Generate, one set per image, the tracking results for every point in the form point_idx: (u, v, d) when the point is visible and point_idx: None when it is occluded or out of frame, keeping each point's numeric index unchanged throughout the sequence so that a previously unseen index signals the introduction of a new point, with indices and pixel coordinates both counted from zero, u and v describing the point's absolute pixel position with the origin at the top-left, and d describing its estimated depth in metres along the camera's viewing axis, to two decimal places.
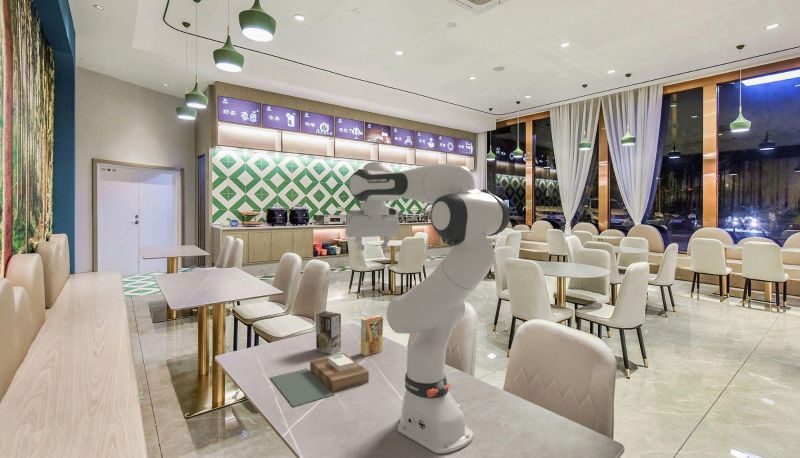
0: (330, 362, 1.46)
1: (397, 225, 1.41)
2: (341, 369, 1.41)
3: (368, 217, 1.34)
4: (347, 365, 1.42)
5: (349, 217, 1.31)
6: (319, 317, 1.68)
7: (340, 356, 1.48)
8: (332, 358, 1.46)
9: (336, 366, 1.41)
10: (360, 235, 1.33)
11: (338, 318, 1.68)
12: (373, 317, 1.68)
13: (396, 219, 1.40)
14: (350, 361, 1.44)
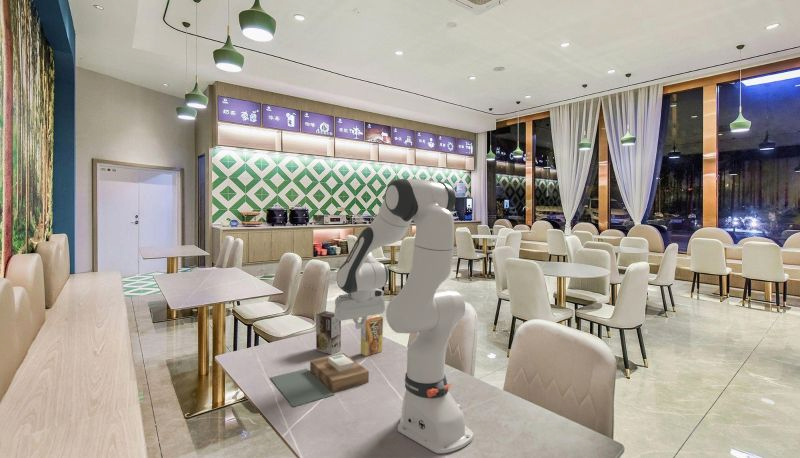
0: (330, 362, 1.46)
1: (383, 304, 1.52)
2: (341, 369, 1.41)
3: (355, 300, 1.45)
4: (347, 365, 1.42)
5: (337, 302, 1.43)
6: (319, 317, 1.68)
7: (340, 356, 1.48)
8: (332, 358, 1.46)
9: (336, 366, 1.41)
10: (348, 318, 1.44)
11: None
12: (373, 317, 1.68)
13: (382, 299, 1.51)
14: (350, 361, 1.44)
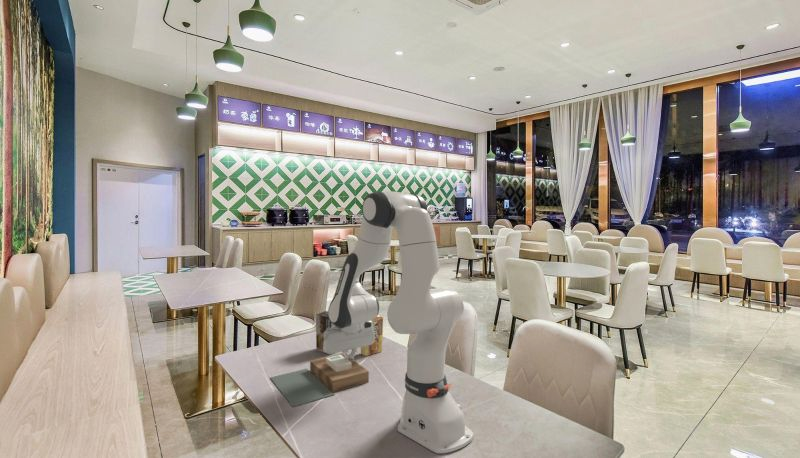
0: (328, 363, 1.45)
1: (372, 335, 1.50)
2: (338, 370, 1.40)
3: (344, 333, 1.43)
4: (344, 366, 1.41)
5: (326, 335, 1.41)
6: (319, 317, 1.68)
7: (338, 357, 1.48)
8: (330, 358, 1.46)
9: (334, 366, 1.41)
10: (336, 351, 1.42)
11: None
12: None
13: (371, 330, 1.49)
14: (348, 362, 1.43)
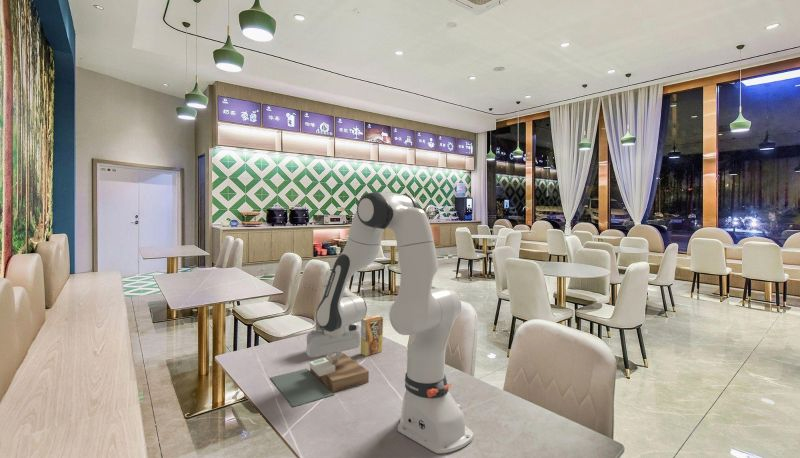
0: (311, 367, 1.42)
1: (358, 338, 1.46)
2: (322, 374, 1.36)
3: (328, 336, 1.40)
4: (327, 369, 1.38)
5: (309, 338, 1.37)
6: None
7: (322, 360, 1.44)
8: (313, 362, 1.42)
9: (317, 371, 1.37)
10: (320, 354, 1.39)
11: None
12: (373, 317, 1.68)
13: (357, 333, 1.46)
14: (331, 365, 1.40)
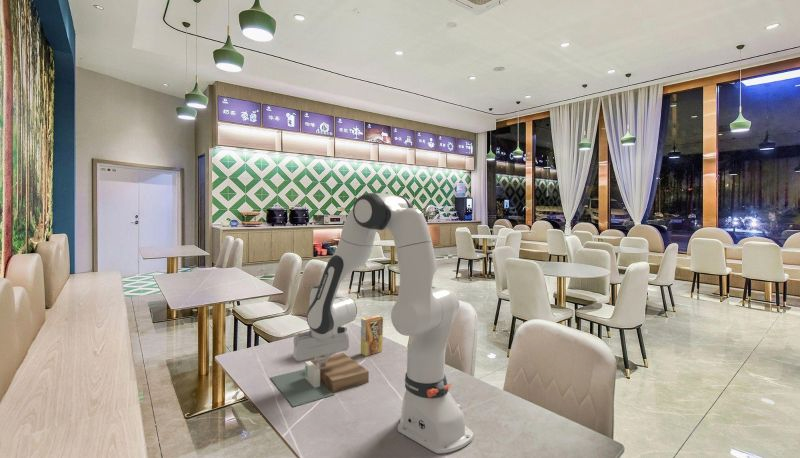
0: None
1: (347, 341, 1.44)
2: (318, 384, 1.36)
3: (316, 338, 1.37)
4: (316, 378, 1.35)
5: (296, 341, 1.34)
6: None
7: (306, 368, 1.41)
8: (306, 377, 1.41)
9: None
10: (307, 357, 1.36)
11: None
12: (373, 317, 1.68)
13: (345, 335, 1.43)
14: (313, 371, 1.36)
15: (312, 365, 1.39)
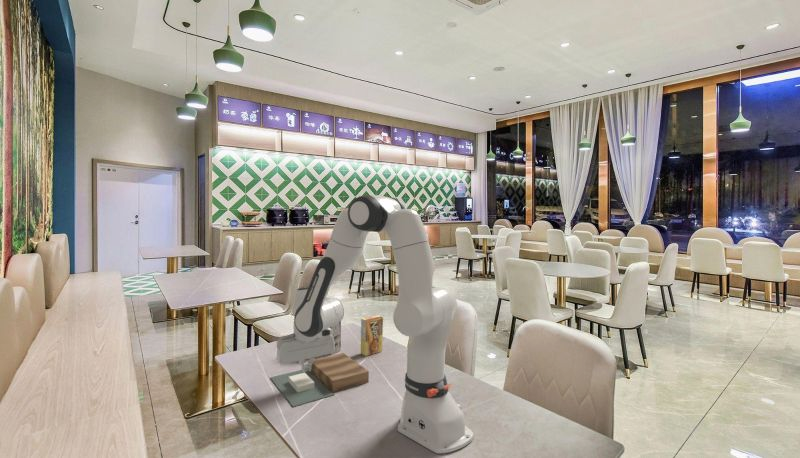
0: None
1: (332, 344, 1.41)
2: (311, 384, 1.35)
3: (300, 341, 1.34)
4: (305, 388, 1.33)
5: (279, 344, 1.31)
6: None
7: None
8: None
9: None
10: (291, 361, 1.33)
11: None
12: (373, 317, 1.68)
13: (331, 338, 1.40)
14: None
15: (292, 383, 1.36)
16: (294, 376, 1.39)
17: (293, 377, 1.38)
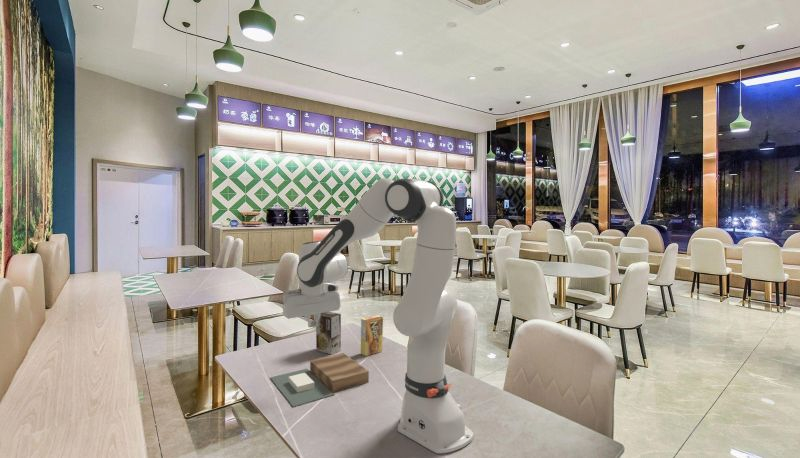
0: None
1: (338, 300, 1.40)
2: (311, 384, 1.35)
3: (306, 296, 1.34)
4: (305, 388, 1.33)
5: (285, 298, 1.31)
6: None
7: None
8: None
9: None
10: (297, 315, 1.32)
11: (338, 318, 1.68)
12: (373, 317, 1.68)
13: (336, 294, 1.40)
14: None
15: (292, 383, 1.36)
16: (294, 376, 1.39)
17: (293, 377, 1.38)
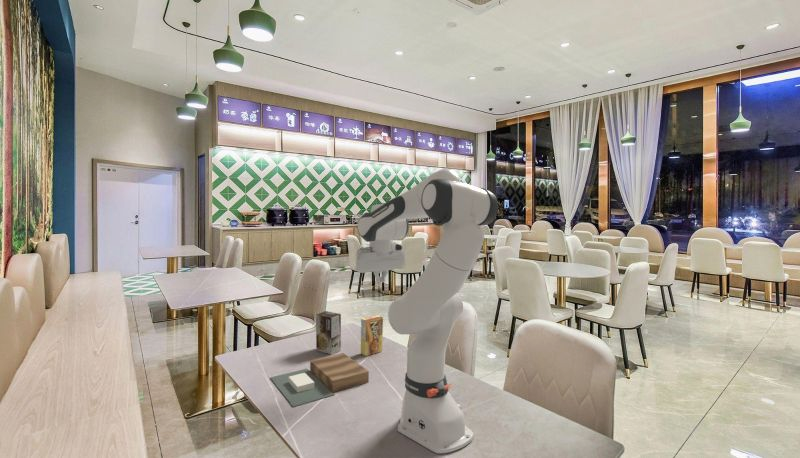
0: None
1: (403, 259, 1.52)
2: (311, 384, 1.35)
3: (376, 253, 1.45)
4: (305, 388, 1.33)
5: (359, 254, 1.43)
6: (319, 317, 1.68)
7: None
8: None
9: None
10: (369, 270, 1.44)
11: (338, 318, 1.68)
12: (373, 317, 1.68)
13: (402, 254, 1.51)
14: None
15: (292, 383, 1.36)
16: (294, 376, 1.39)
17: (293, 377, 1.38)
